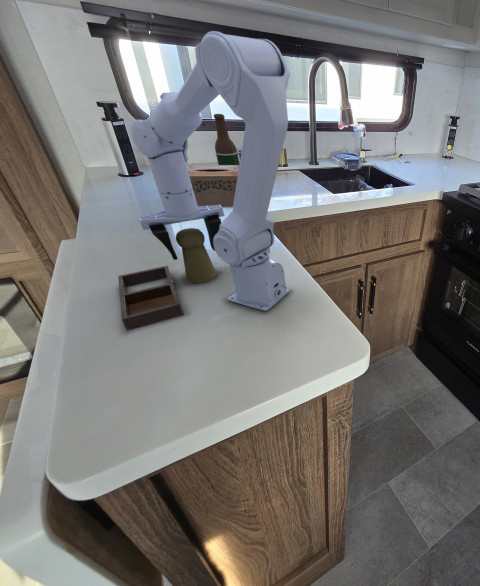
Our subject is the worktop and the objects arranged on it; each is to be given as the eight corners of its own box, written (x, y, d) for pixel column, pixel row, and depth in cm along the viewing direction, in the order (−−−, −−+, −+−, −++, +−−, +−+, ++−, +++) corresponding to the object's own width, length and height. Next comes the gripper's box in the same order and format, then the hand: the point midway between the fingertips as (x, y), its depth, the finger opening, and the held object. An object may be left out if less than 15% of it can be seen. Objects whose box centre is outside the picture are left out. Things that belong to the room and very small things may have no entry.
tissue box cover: (259, 192, 124) (255, 165, 119) (256, 205, 113) (251, 175, 107) (183, 194, 118) (174, 165, 113) (172, 208, 107) (162, 176, 101)
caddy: (183, 314, 63) (179, 304, 61) (127, 330, 58) (121, 319, 57) (171, 275, 74) (167, 265, 72) (122, 286, 69) (118, 275, 68)
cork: (208, 267, 78) (196, 222, 71) (221, 276, 75) (209, 230, 68) (181, 276, 74) (165, 230, 67) (194, 286, 71) (179, 239, 64)
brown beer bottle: (246, 180, 135) (234, 114, 122) (230, 184, 130) (215, 116, 116) (234, 177, 139) (221, 112, 125) (217, 181, 133) (202, 113, 120)
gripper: (210, 179, 70) (225, 239, 77) (127, 189, 62) (152, 254, 69) (220, 188, 65) (234, 250, 73) (132, 200, 57) (158, 268, 65)
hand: (195, 253), depth 71 cm, fingers open, 7 cm apart
